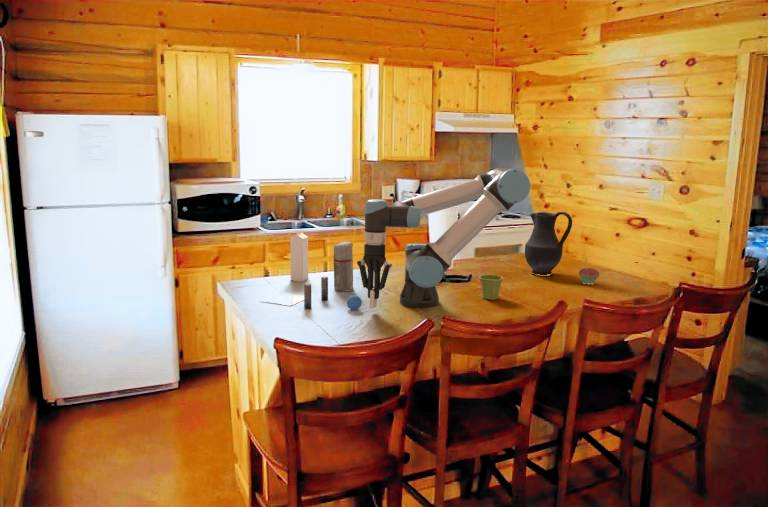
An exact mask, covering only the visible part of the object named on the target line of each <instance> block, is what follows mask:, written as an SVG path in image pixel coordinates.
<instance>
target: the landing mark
mask: <svg viewBox="0 0 768 507" xmlns="http://www.w3.org/2000/svg"><path fill="white" fill-rule="evenodd" d="M293 296H294V298H293V302H294V301H295V302H294V303H293V306H294V304H295V305H296V303H297V304H298V303H301V302H304V301H303V300H304V295H299V294H293ZM290 305H291V304H290ZM281 306H284V305H283V304H282V305H281Z"/></svg>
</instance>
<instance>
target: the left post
mask: <svg viewBox="0 0 768 507" xmlns="http://www.w3.org/2000/svg"><path fill="white" fill-rule="evenodd" d="M303 296H304V301H303V303H304V306H303V309H304V310H311V309H312V284H310V283H305V284H303Z"/></svg>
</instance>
